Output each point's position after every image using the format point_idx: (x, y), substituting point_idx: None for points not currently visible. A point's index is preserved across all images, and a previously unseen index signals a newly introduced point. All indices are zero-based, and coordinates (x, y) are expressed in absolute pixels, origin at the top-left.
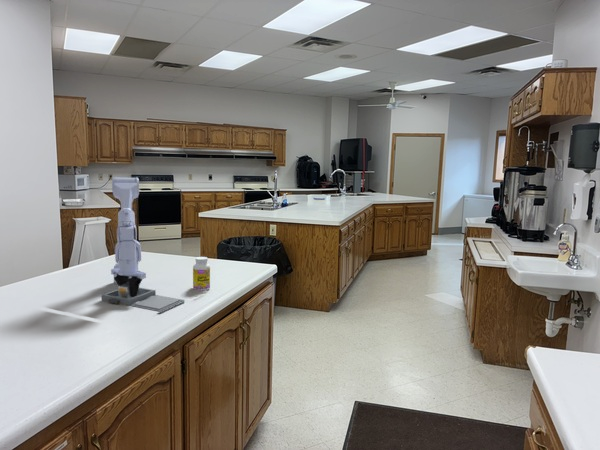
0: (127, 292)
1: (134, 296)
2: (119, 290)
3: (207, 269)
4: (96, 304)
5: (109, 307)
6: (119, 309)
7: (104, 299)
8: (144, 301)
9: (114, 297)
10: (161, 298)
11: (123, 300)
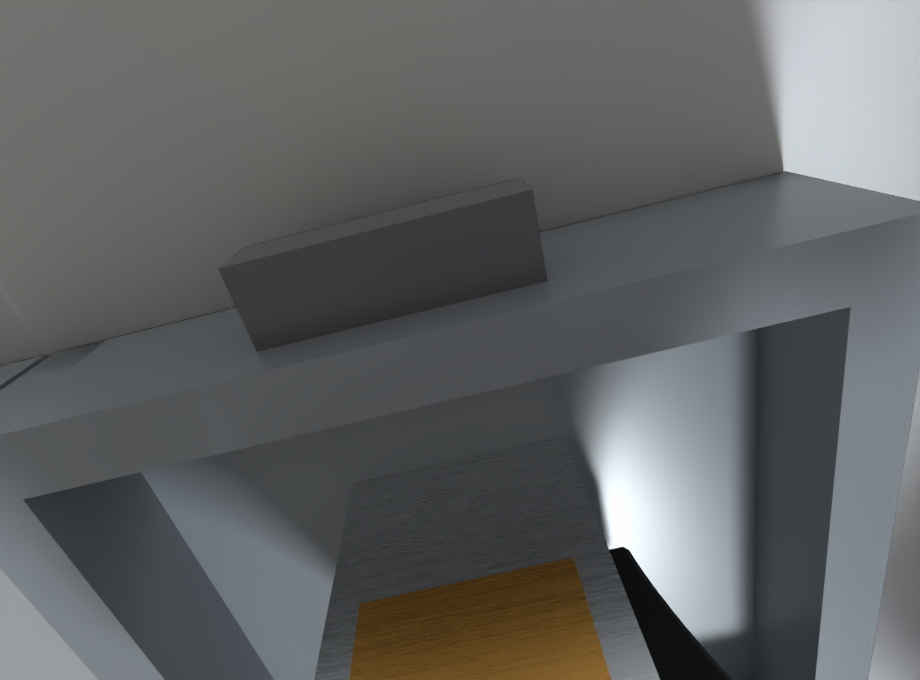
0: (329, 650)
1: None
2: (577, 605)
3: None
4: (818, 32)
5: (397, 120)
6: (118, 193)
7: (753, 209)
8: (24, 622)
9: (421, 329)
10: None
11: (124, 387)
